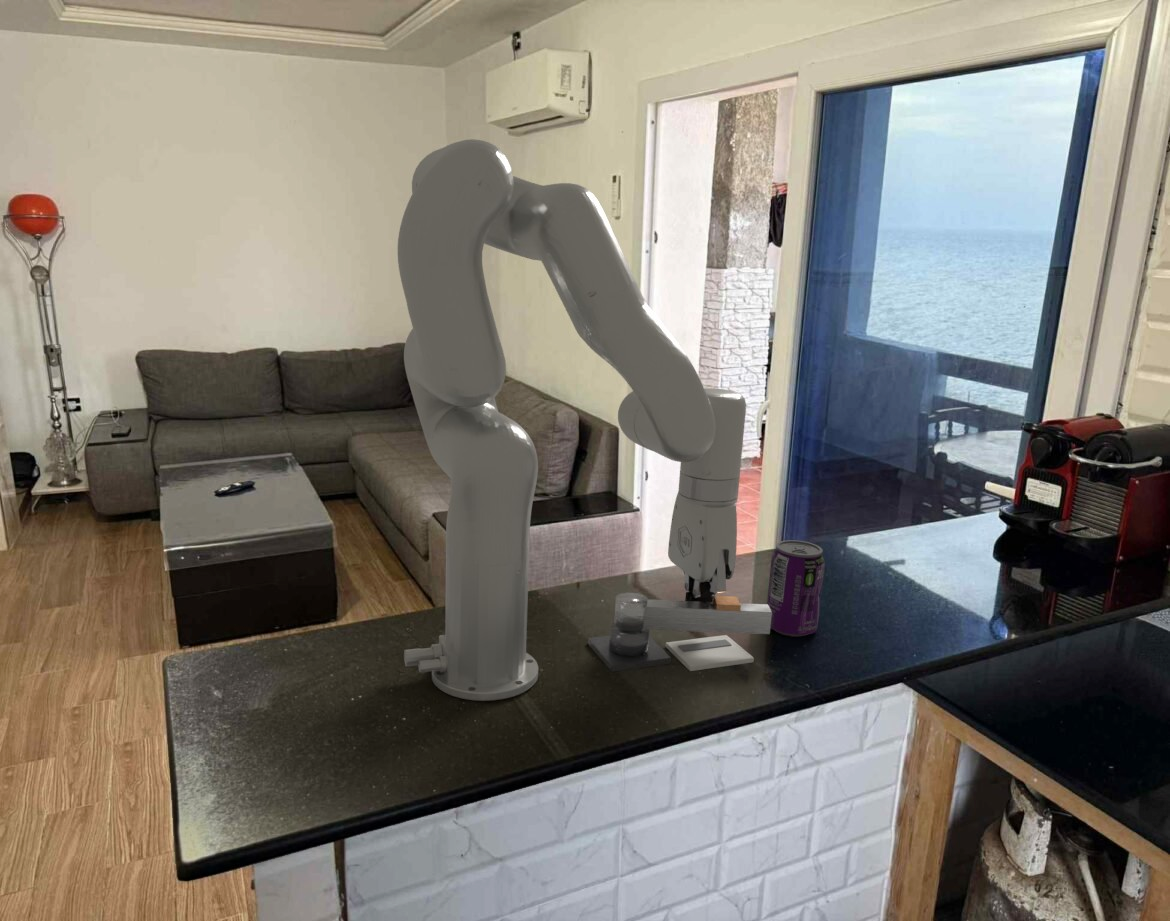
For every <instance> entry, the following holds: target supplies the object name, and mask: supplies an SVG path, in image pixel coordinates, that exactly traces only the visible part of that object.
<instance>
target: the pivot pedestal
mask: <svg viewBox="0 0 1170 921" xmlns="http://www.w3.org/2000/svg"><path fill="white" fill-rule="evenodd" d="M614 623H615V621H614V622H612V623H611V624H610V628H609V635H603V636H594V637H593V636H592V637H588V639H587V644H588V645H589V647H590V648H591V649H592V651H594V653H595V654H596V655H597V656H598V657H599V659H601V661H602V663H603V664H604V665H605V666H606V667H607V669H608V670H609V671H610V672H611V673H612V672H618V671H625V670H632V669H634V670H635V669H639V668H649V667H654V666H655V667H657V666H663V665H669V664H671V656H670V655H669V654H668V653H667V652H666V651H665V650H663V648H662V647H661V646H660V645H659V644H658V643H657V642H656V641H654V639H652V637H651V636H650V630H651V629H642V630H639V631H625V630H622V629H619V628H617V627H616V626H615V624H614Z"/></svg>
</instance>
